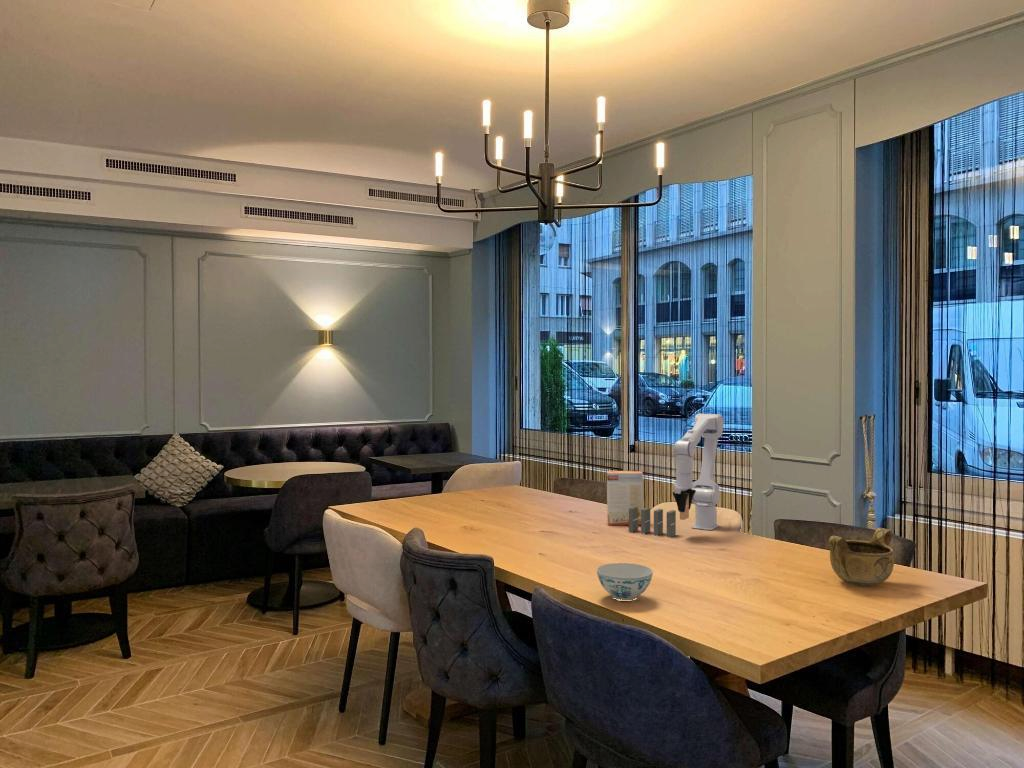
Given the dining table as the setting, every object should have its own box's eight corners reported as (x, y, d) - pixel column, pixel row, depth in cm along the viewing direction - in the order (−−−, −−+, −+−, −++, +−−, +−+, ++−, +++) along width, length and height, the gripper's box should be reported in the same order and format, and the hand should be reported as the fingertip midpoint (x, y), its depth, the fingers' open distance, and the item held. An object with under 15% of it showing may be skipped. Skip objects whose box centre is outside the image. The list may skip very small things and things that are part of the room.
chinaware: (663, 597, 209) (663, 569, 208) (632, 610, 198) (632, 580, 197) (617, 587, 219) (617, 559, 218) (585, 599, 208) (585, 570, 207)
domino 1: (646, 531, 292) (646, 507, 292) (650, 531, 291) (650, 507, 291) (641, 533, 288) (641, 509, 287) (645, 534, 287) (645, 510, 286)
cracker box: (642, 522, 307) (642, 470, 306) (643, 526, 301) (643, 472, 300) (606, 522, 308) (606, 470, 308) (607, 525, 302) (607, 472, 302)
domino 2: (658, 532, 289) (658, 508, 289) (663, 533, 288) (663, 509, 288) (653, 535, 285) (653, 510, 285) (657, 535, 284) (657, 511, 284)
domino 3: (671, 534, 286) (671, 510, 286) (675, 534, 285) (675, 510, 285) (666, 536, 282) (666, 512, 282) (670, 537, 281) (670, 512, 281)
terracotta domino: (684, 517, 283) (684, 492, 283) (688, 517, 283) (689, 493, 282) (679, 519, 279) (679, 494, 279) (684, 519, 278) (684, 495, 278)
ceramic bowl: (863, 572, 233) (863, 523, 233) (914, 586, 218) (914, 534, 217) (809, 581, 223) (810, 530, 223) (859, 597, 208) (859, 542, 208)
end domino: (634, 529, 294) (634, 506, 294) (638, 530, 294) (638, 506, 293) (628, 532, 290) (628, 508, 290) (632, 532, 289) (632, 508, 289)
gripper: (680, 470, 289) (680, 506, 289) (666, 474, 277) (666, 512, 277) (699, 471, 285) (699, 508, 285) (685, 476, 273) (685, 514, 273)
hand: (684, 510), depth 281 cm, fingers closed on terracotta domino, 5 cm apart
